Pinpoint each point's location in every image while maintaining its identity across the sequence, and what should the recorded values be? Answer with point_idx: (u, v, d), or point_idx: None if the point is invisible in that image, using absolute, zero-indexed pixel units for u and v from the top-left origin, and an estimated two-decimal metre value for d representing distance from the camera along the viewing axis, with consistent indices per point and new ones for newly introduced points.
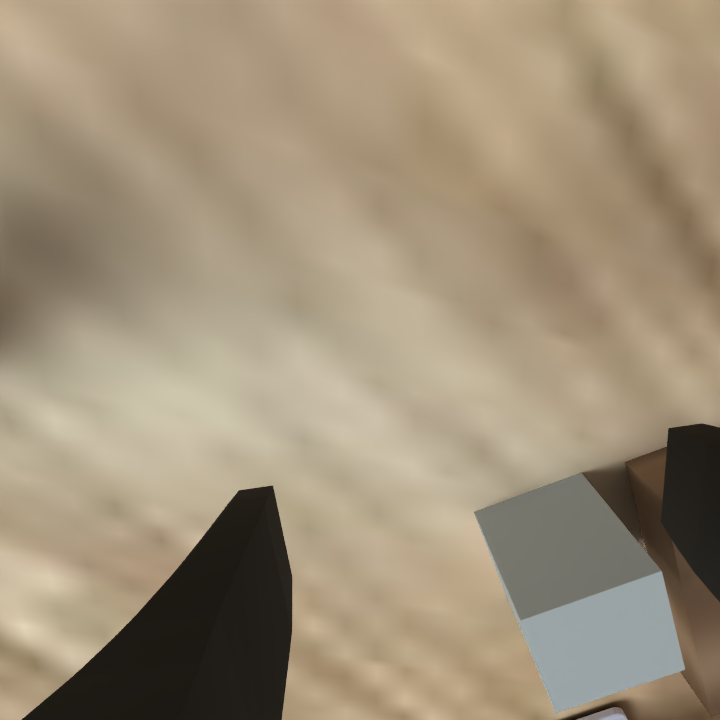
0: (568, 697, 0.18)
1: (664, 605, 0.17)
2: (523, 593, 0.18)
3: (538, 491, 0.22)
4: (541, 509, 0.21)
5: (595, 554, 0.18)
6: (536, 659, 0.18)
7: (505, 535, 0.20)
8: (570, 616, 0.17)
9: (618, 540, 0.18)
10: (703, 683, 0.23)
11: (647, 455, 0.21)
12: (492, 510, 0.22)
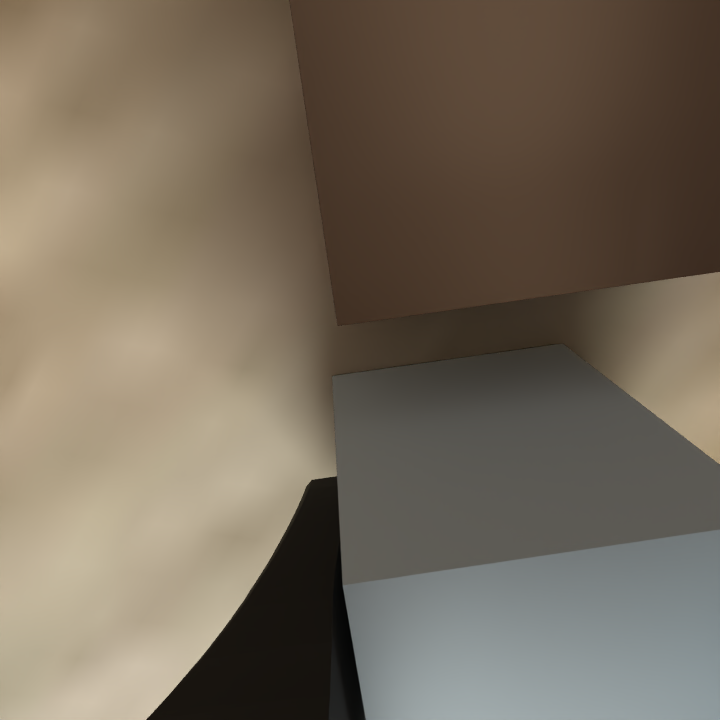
0: None
1: (484, 576, 0.05)
2: None
3: None
4: None
5: None
6: None
7: None
8: None
9: None
10: None
11: None
12: None
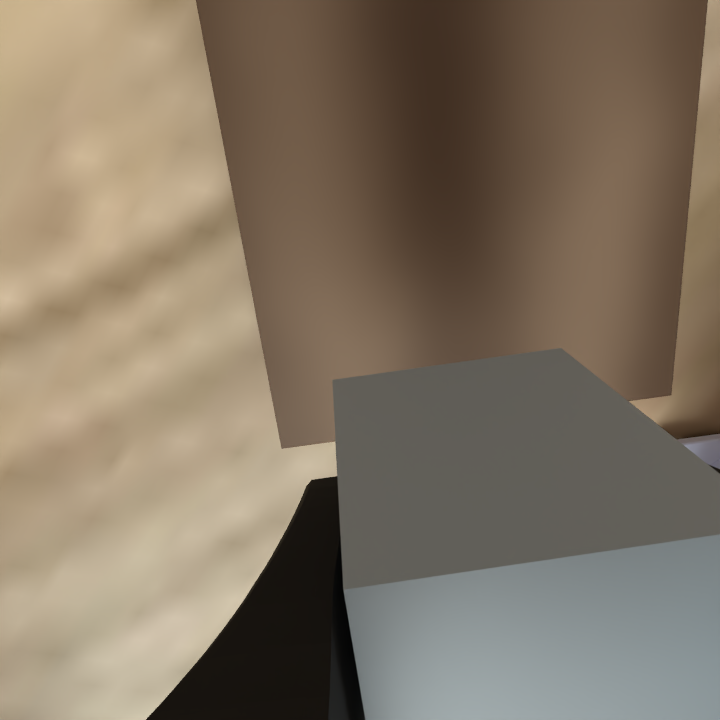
0: None
1: (482, 582, 0.06)
2: None
3: None
4: None
5: None
6: None
7: None
8: None
9: None
10: None
11: None
12: None
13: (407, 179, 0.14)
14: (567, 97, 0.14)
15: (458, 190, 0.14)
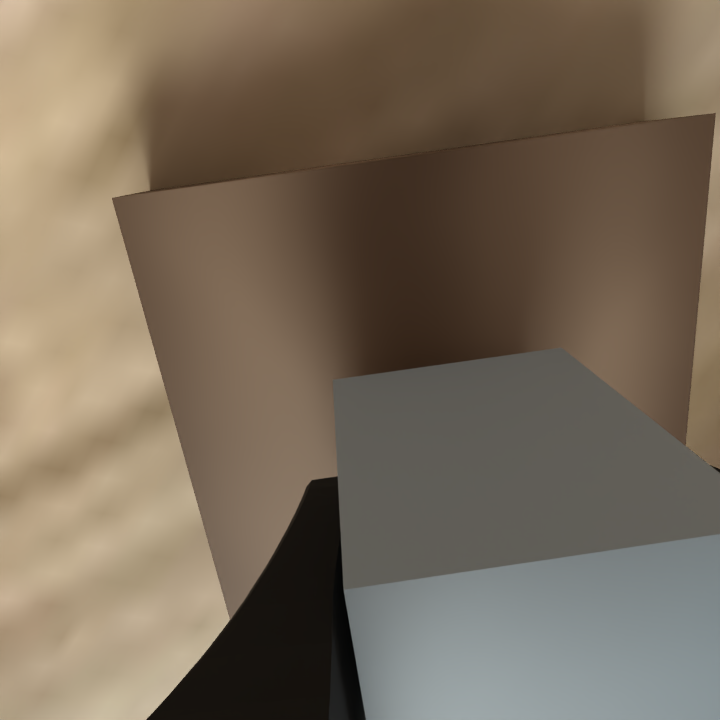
0: None
1: (483, 582, 0.06)
2: None
3: None
4: None
5: None
6: None
7: None
8: None
9: None
10: None
11: None
12: None
13: None
14: (549, 299, 0.12)
15: None
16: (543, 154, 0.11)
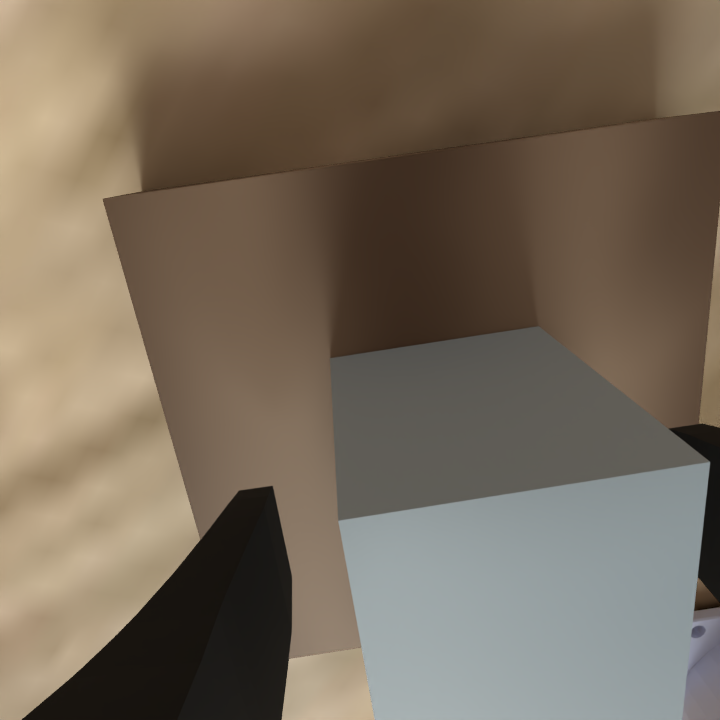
0: (651, 697, 0.08)
1: (455, 513, 0.07)
2: None
3: None
4: None
5: None
6: None
7: None
8: (408, 692, 0.08)
9: None
10: None
11: None
12: None
13: None
14: (555, 302, 0.12)
15: None
16: (550, 152, 0.11)
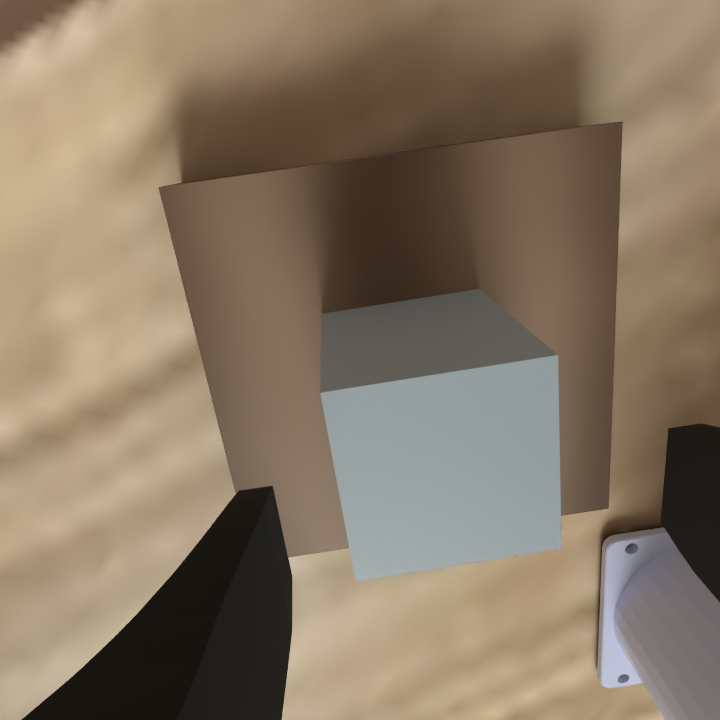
0: (537, 530, 0.12)
1: (395, 388, 0.10)
2: None
3: None
4: None
5: None
6: (439, 566, 0.12)
7: None
8: (370, 520, 0.11)
9: None
10: None
11: None
12: None
13: None
14: (497, 267, 0.15)
15: None
16: (490, 153, 0.14)
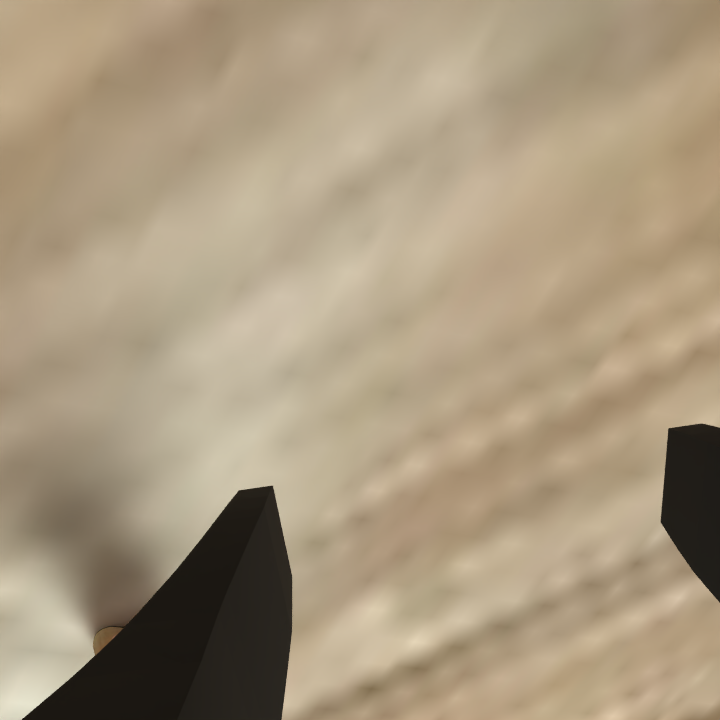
0: None
1: None
2: None
3: None
4: None
5: None
6: None
7: None
8: None
9: None
10: None
11: None
12: None
13: None
14: None
15: None
16: None
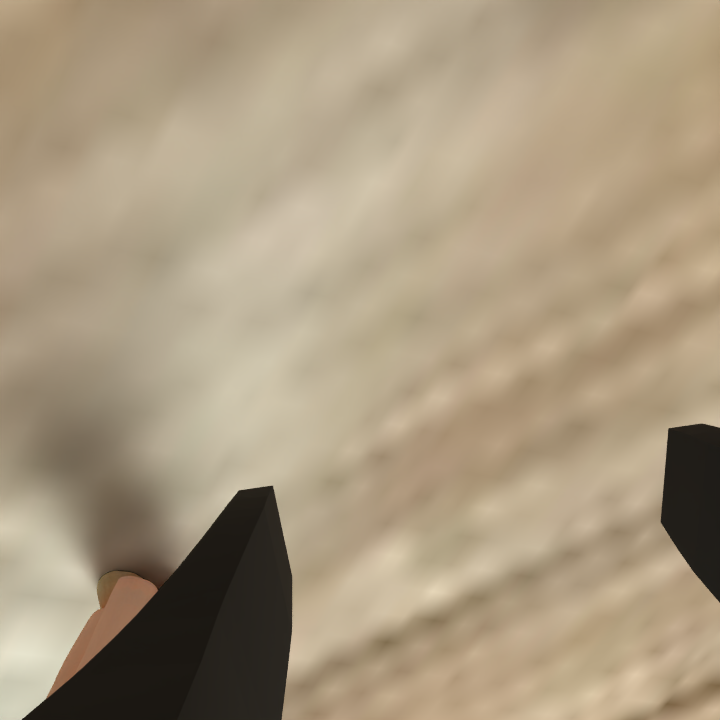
0: None
1: None
2: None
3: None
4: None
5: None
6: None
7: None
8: None
9: None
10: None
11: None
12: None
13: None
14: None
15: None
16: None
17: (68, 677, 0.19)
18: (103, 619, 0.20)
